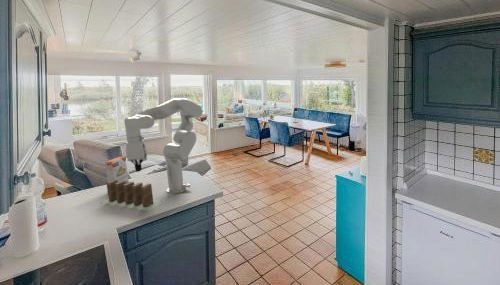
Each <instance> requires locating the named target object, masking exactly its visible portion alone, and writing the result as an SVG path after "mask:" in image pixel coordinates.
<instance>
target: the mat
mask: <svg viewBox="0 0 500 285" xmlns="http://www.w3.org/2000/svg"><path fill="white" fill-rule="evenodd" d="M163 203H164V201H159V200H153V204H151V205H150V206H148V207H143V204H140V205H138V206H134V202H133V203H131V204H129V205H128V204H125V201H124V202H122V203H117V200H116V201H113V202H109V197H108V198H106V199H105V200H102V201H99V204H104V205H105V204H106V205H110V206H111V205H112V206H117V207H124V208H130V209H135V210H142V211H147V212H148V211H152V210H153V209H155V208H156V207H158V206H160V205H161V204H163Z"/></svg>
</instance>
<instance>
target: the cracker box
mask: <svg viewBox="0 0 500 285" xmlns="http://www.w3.org/2000/svg"><path fill="white" fill-rule="evenodd" d="M105 170H106V177H107V182H110V181H112V180H118V182H120V181H126V183H128V182H129V175H128V167H127V156H117V157H114V158H113V159H112V158H111V159H110V160H108V161H105Z"/></svg>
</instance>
